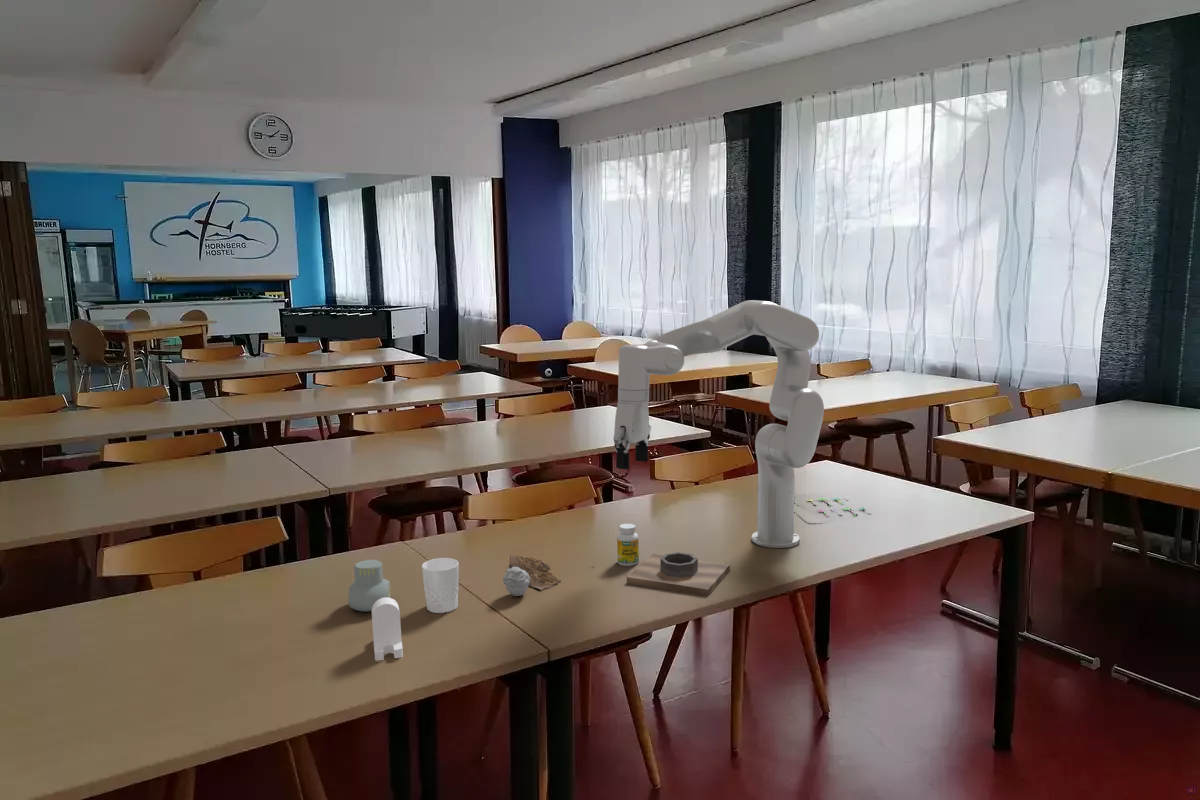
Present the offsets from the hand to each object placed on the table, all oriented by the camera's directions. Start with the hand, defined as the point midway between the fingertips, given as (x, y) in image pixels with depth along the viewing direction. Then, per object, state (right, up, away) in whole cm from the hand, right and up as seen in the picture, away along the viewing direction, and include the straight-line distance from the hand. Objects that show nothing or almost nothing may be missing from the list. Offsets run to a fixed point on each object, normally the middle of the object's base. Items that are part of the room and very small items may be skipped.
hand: (632, 464), depth 207 cm
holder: (+11, -26, -5) cm, 29 cm away
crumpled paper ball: (-27, -29, -15) cm, 42 cm away
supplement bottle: (-1, -25, +5) cm, 26 cm away
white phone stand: (-50, -34, -40) cm, 72 cm away
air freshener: (-59, -30, -19) cm, 69 cm away
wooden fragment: (-25, -27, 0) cm, 37 cm away
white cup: (-43, -30, -20) cm, 56 cm away
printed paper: (+64, -17, +49) cm, 82 cm away
